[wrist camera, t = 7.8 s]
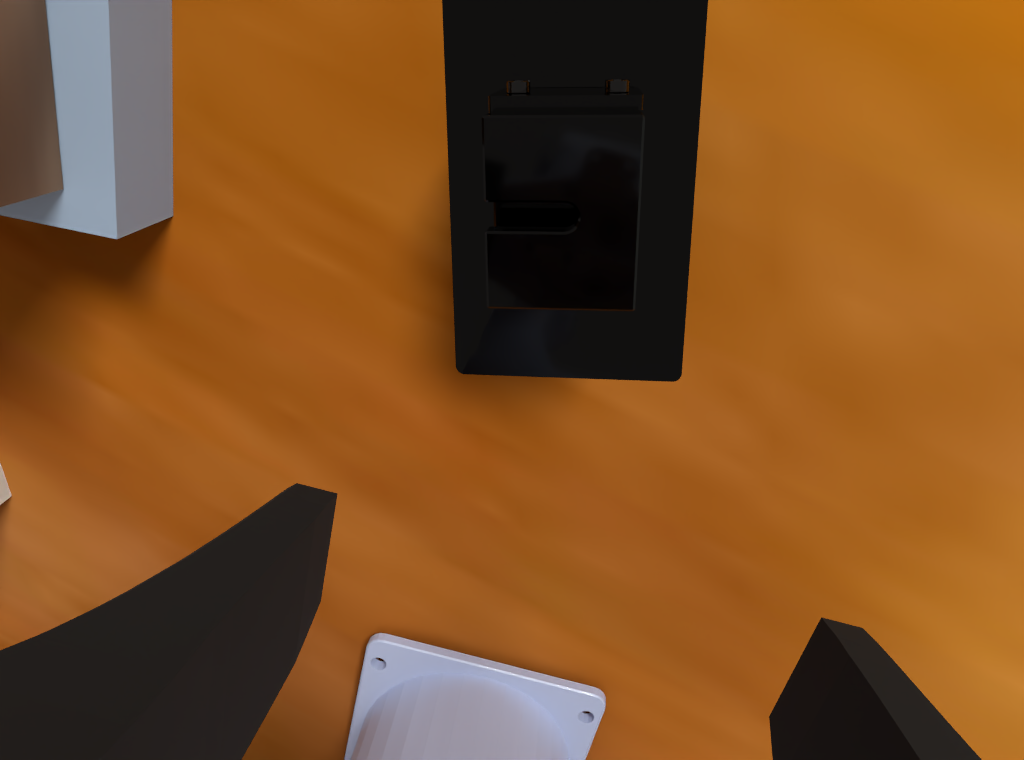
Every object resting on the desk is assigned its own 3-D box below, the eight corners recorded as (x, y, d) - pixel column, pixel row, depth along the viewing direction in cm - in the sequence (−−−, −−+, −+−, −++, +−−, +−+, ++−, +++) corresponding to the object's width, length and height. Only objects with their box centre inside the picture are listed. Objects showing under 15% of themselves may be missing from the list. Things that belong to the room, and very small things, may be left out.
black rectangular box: (409, -123, 17) (342, -183, 13) (762, -136, 17) (822, -205, 12) (438, 407, 23) (398, 497, 18) (709, 416, 22) (737, 512, 17)
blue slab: (180, 212, 21) (117, 239, 18) (-69, 161, 21) (-169, 180, 18) (180, -84, 18) (104, -106, 15) (-109, -140, 18) (-236, -172, 15)
